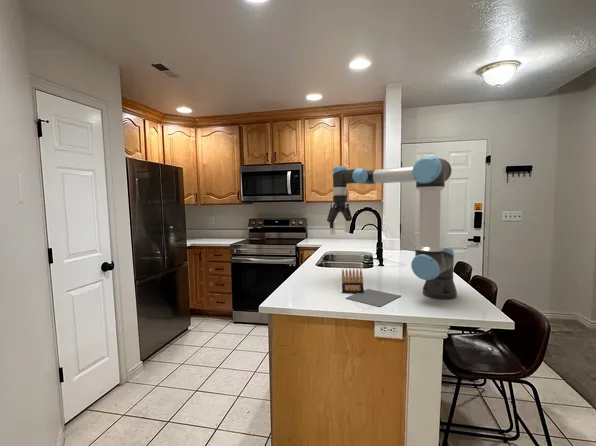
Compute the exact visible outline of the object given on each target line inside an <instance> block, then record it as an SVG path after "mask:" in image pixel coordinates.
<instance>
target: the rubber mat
mask: <svg viewBox="0 0 596 446" xmlns="http://www.w3.org/2000/svg"><path fill="white" fill-rule="evenodd" d="M401 297H402V295H399V294H396V293H390V292H385V291H379V290H376V289H370V288H367V289H364V293H353V294H352V295H349V296H347V297H345V300H349V301H353V302H357V303H360V304H365V305H369V306H373V307H377V308H381V307H383V306H386V305H387V304H390V303H391V302H393V301H395V300H397V299H399V298H401Z"/></svg>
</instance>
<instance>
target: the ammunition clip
mask: <svg viewBox="0 0 596 446" xmlns="http://www.w3.org/2000/svg"><path fill="white" fill-rule="evenodd" d="M364 290H365V289H364V276H363V271H362V268H360V269H358V268H356V271H355V269H354V268H353V269H352V270H351V268H349V269H347V268H345V270H344V268H342V270H341V293H343V294H356V293H364Z"/></svg>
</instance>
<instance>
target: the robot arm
mask: <svg viewBox="0 0 596 446" xmlns="http://www.w3.org/2000/svg"><path fill="white" fill-rule="evenodd" d="M413 164H414V165H413V166H402V167H392V168H381V169H369V170H368V169H366V168H363V167H362V168H359V167H358V168H351V169H347V167H346V166H344V165H343V166H341V165H339V166H334V167H333V168H332V194H333V196H332V201H333V203H330V209H329V213H328V216H327V219H326V221H327V222H328V223H329V234H330V235H333V236H334V235H336V222H335V220H336V219H337V216H338V214H339V213H341V214H342V215H343V218H344V220H345V221H344V233H350V230H351V229H350V227H351V225H350V222H351V221H352V219H353V217H352V213H351V210H350V204H349V203H346V202H347V201H348V200H347V197H348V196H347V195H348V187H347V184H349V185H350V184H358V185H359V184H362V185H374V184H388V183H389V184H393V183H394V184H395V183H407V182H408V183H410V182H416V183H415V189H416V190H417V191H418V192H419V207H418V208H419V214H418V216H419V218H418V219H419V221H418V224H419V225H418V226H419V227H418V228H419V229H418V230H419V231H418V232H419V233H418V245H417V246H416V247H415V248H414V249H415V253H414V257H413V258H412V260H411V265H410V267H411V270H412V272H413V274H414V275H415V276H416V277H417V278H419V279H421V280H423V281H425V282H424V284H423V286H422V294H423V295H424V296H425V297H429V298H433V299H438V300H451V299H452V300H453V299H456V298H457V297H458V290H457V288H456V284H455V282H454V260H455V259H454V258H455V254H454V251H455V250H453V248H450V247H449V248H447V247H442V246H441V241H440V240H441V196H442V195H441V194H442V193H441V192H442V191H443V190H444V189H445V183H446V182H447V181H448V180H449V178H450V177H451V176H452V171H453V170H452V166H451V164H450V163H449V161H447V159H444V158H440V157H437V156H434V155H432V156H430V155H429V156H428V155H427V156H422V157H421V158H419V159H418V160H417V161H416V162H414V163H413Z"/></svg>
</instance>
